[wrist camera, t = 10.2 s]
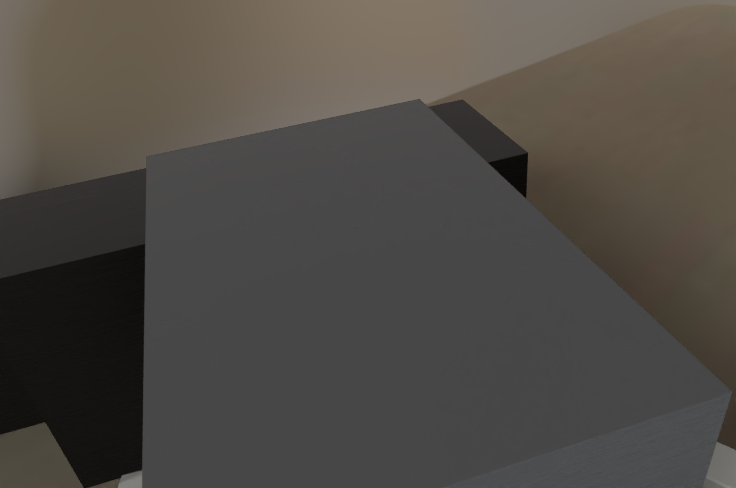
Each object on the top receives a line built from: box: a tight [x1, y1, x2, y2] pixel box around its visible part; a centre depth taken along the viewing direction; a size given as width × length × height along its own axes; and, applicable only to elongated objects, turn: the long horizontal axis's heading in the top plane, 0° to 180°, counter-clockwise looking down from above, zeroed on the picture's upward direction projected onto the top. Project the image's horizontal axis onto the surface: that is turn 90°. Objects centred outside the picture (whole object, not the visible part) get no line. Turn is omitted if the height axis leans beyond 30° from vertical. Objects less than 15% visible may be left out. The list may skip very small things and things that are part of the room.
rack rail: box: [0, 100, 528, 488], centre depth 17 cm, size 22×4×7 cm, turn 107°
